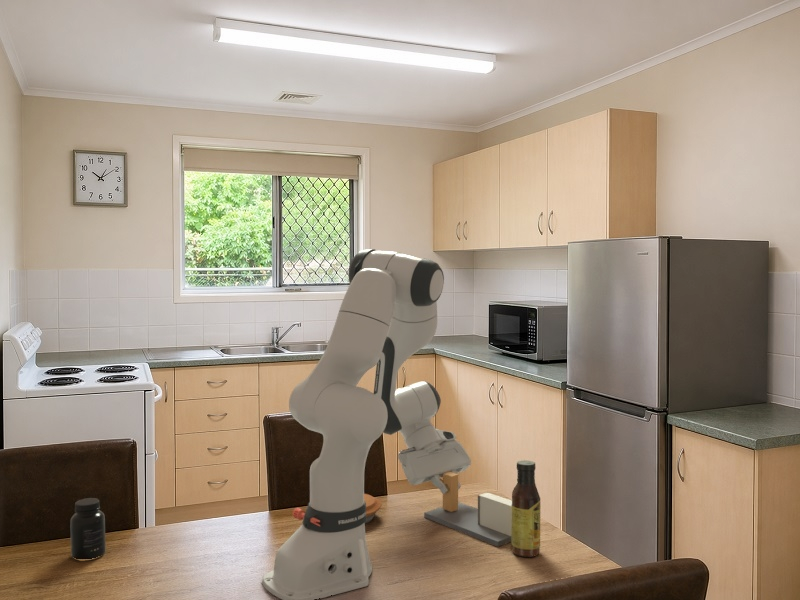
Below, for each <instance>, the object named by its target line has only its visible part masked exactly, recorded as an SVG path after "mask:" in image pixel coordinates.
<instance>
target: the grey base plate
mask: <svg viewBox="0 0 800 600" xmlns="http://www.w3.org/2000/svg"><path fill="white" fill-rule="evenodd" d="M423 514H424V515H423V518H425V519H427V520H430V521H432V522H434V523H437V524H440V525H442V526H445V527H447V528H450V529H451V530H455V531H458V532H460V533H462V534H465V535H467V536H470V537H473V538H475V539H477V540H479V541H482V542H485V543H487V544H490V545H492V546H494V547H499V548H500V547H502V546H504V545H506V544H508V543H511V520H512V500H511V499H509V498H507V497H506V498H505V497H502V496H499V495H497V494H493V493H490V492H488V491H487V492H483V493H480V494H478V495H477V508H476V507H474V506H471V505H469V504H466V503H463V502H460V501H458V510H456V511H453V512H450V511H447V510H445V509H443V506H440V507H437V508H434V509H431V510H428V511H424V513H423Z"/></svg>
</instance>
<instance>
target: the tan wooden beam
mask: <svg viewBox="0 0 800 600" xmlns="http://www.w3.org/2000/svg"><path fill="white" fill-rule="evenodd" d="M442 482H443V483H444V484H447V485H448V487H449V488H450V491H449V492H448V493H446V494H442V507H443V509H445V510H447V511H450V512H453V511H456V510H458V502H459V489H458V482H459V473H458V474H456V473H452V472H447V473H443V477H442Z"/></svg>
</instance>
